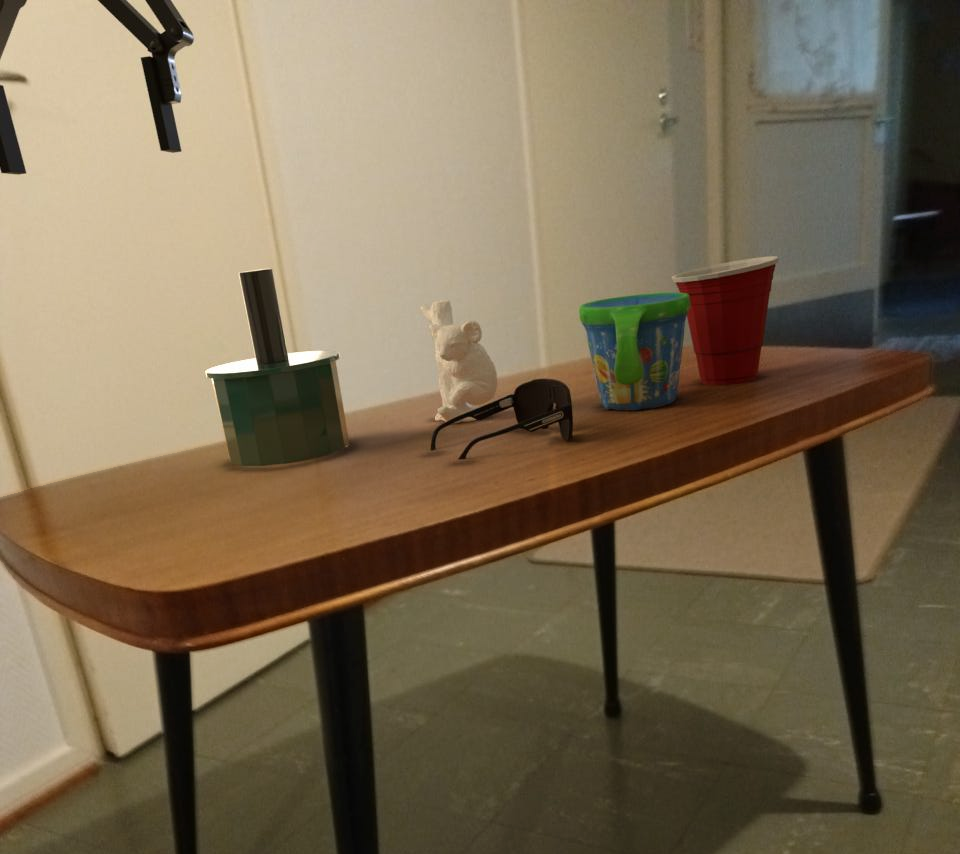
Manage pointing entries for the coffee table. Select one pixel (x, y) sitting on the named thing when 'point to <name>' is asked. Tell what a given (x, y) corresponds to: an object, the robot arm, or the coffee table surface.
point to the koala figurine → (460, 363)
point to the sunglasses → (525, 410)
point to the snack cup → (636, 348)
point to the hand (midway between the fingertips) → (92, 163)
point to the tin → (282, 416)
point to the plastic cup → (728, 317)
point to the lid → (267, 334)
